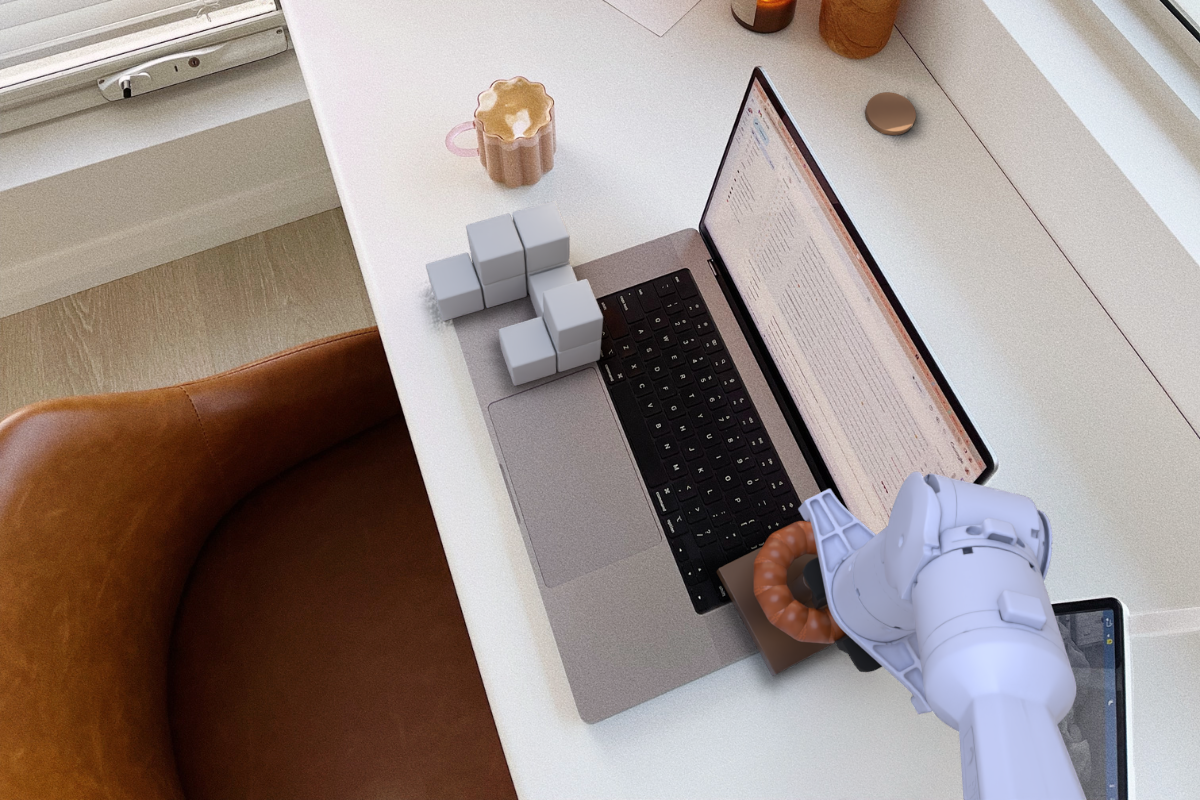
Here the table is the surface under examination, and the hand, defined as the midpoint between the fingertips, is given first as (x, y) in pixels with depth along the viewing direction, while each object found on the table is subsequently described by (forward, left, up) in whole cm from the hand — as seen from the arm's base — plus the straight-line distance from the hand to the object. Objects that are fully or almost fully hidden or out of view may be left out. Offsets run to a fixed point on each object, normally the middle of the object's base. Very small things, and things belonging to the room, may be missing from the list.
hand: (837, 619), depth 65 cm
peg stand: (+3, 0, -7) cm, 8 cm away
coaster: (+41, -34, -7) cm, 54 cm away
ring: (+3, 0, 0) cm, 3 cm away
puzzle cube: (+35, +10, -7) cm, 37 cm away
